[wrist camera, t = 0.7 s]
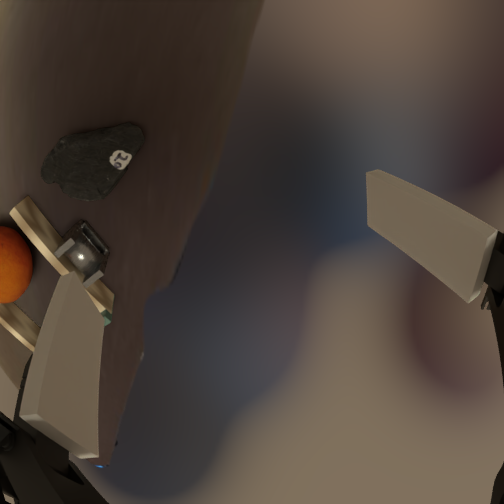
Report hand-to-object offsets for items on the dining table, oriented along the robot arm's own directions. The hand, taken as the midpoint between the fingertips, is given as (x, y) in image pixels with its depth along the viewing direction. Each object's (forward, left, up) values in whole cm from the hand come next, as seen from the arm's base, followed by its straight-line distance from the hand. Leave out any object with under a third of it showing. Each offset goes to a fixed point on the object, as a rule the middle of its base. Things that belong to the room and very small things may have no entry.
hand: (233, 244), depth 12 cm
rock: (-6, -9, -26) cm, 28 cm away
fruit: (-5, -28, -26) cm, 38 cm away
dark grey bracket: (+2, -17, -25) cm, 31 cm away
